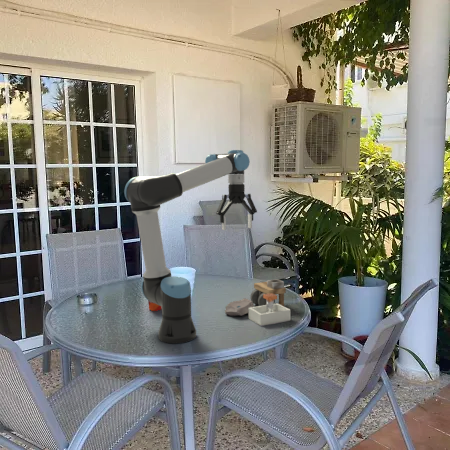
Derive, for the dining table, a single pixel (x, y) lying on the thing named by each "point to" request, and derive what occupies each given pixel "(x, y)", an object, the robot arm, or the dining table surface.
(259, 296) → the trolley
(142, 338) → the dining table surface
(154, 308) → the coffee cup
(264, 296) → the pin
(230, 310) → the stone
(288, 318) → the tray
